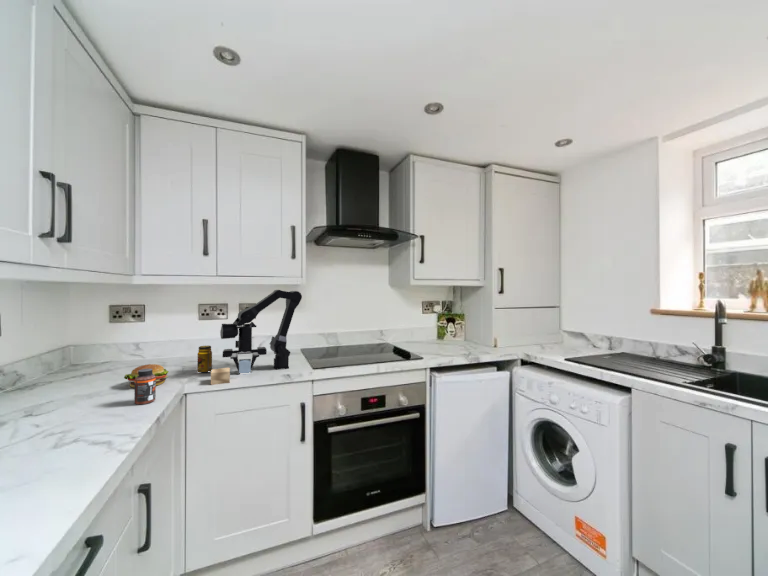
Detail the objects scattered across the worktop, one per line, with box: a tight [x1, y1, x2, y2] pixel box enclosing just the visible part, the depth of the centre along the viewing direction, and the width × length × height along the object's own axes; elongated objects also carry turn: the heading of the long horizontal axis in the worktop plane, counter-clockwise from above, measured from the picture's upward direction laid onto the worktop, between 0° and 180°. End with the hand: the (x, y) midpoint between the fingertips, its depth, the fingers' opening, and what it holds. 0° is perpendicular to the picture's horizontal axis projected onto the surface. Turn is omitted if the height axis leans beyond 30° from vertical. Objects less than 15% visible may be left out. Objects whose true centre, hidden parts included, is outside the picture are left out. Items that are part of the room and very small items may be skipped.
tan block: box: [210, 367, 231, 386], centre depth 136 cm, size 7×7×5 cm
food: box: [123, 363, 169, 389], centre depth 132 cm, size 14×14×8 cm
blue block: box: [238, 358, 252, 374], centre depth 150 cm, size 5×5×6 cm
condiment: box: [196, 345, 213, 372], centre depth 153 cm, size 7×8×12 cm
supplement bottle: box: [133, 369, 157, 406], centre depth 112 cm, size 6×6×11 cm
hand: (244, 370), depth 150 cm, fingers open, 5 cm apart
